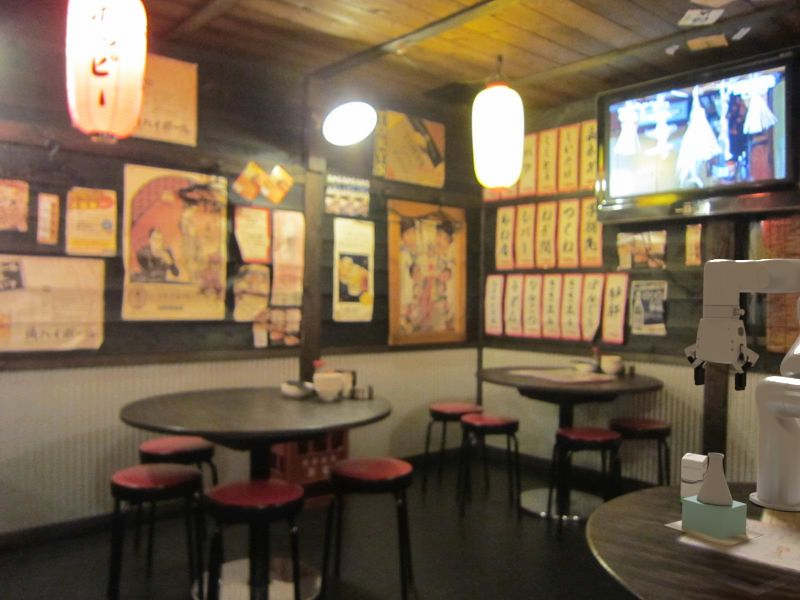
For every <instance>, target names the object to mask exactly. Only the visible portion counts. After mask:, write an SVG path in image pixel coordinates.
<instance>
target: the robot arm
mask: <svg viewBox="0 0 800 600" xmlns="http://www.w3.org/2000/svg"><path fill="white" fill-rule="evenodd" d="M702 287H703V288H702V290H703V295H702V296H703V297H702V304H703V305H702V318H700V320H699V322H698V323H699V324H698V328H697V335H696V342H695V343H693V344H692V345H689V346H687V347H685V348H684V350H683V351H684V353H685V355H686V357H687V361H688V362H689V363H690V365H691V367H692V368H693V381H694V386H704V385H705V384H706V369H705V367H704V366H705V365H706V364H707V362H709V363H719V364H728V365H729V364H730V365H732V366H733V368H734V369H735V370H736V372H735V373H734V391H736V392H739V391H740V392H741V391H745V390H746V387H747V374H748V373H749V372H750V371H751V369H753V368H754V367H755V365H756V363H757V362H758V359H759V358H760V354H758V353H757V352H755V351H753V350H752V349H750V348H749V347H747V336H746V328H745V325H744V320H743V319H740V316H744V315H745V310H744V309H743V308H741V306H740V293H760V294H761V293H762V294H790V293H800V258H771V259H769V258H767V259H759V260H757V259H756V260H754V259H746V260H745V259H744V260H733V259H713V260H711V259H710V260H708V261H706V262H705V263H704V266H703V286H702ZM796 310H797V318H798V324H799V326H800V296H799V297H798V299H797V302H796ZM694 352H695V353H694ZM747 357H748V359H747ZM779 372H780V375H781V376H775V375H774V376H767V377H763V378H762V379H761V380H759V381H758V383H757V384H756V387H755V389H754V398H755V399H754V400H755V405H756V411H757V419H758V434H757V436H758V437H757V438H758V439H757V440H758V441H757V463H756V464H757V465H756V467H757V468H756V473H757V475H756V491H755V492H752V493H749V497H748V498H749V500H750V502H751V503H753V504H755V505H758V506H760V507H764V508H768V509H770V510H771V509H772V510H777V511H783V512H785V511H786V512H800V425H799V423H798V421H797V420H796V419H800V333H799V334H798V337H797V338H796V340H795V341H794V343H793V344H792V345H791V347H790V349H789V350H788V352H786V354H785V356H784V357H783V359H782V361H781V364H780V366H779Z"/></svg>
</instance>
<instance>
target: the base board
mask: <svg viewBox="0 0 800 600" xmlns="http://www.w3.org/2000/svg"><path fill="white" fill-rule="evenodd" d="M664 526H666V527H668V528H671V529H674V530H677V531H680V532H684V533H686V534H688V535H691V536H695V537H697V538H700V539H704V540H706V541H709V542H712V543H714V544H718V545H720V546H723V547H726V548H727V547H729V546H730V547H731V546H734V545H736V544H740V543H742V542H746V541H749V540H752V539H754V538H755V539H756V538H758V537H761V536H764V535H765V534H764V533H763V532H762V533H761V532H758V531H754V530H753V529H752V530H751V529H749V528H746V533H743V534H740V535H737V536H733V537H730V538H727V539H724V540H720V539H717V538H714V537H711V536H708V535H705V534H702V533H699V532H696V531H693V530H690V529H687V528H684V527H682V519H681V520H679V521H674V522H670V523H666V524H664Z"/></svg>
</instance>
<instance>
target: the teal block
mask: <svg viewBox="0 0 800 600" xmlns="http://www.w3.org/2000/svg"><path fill="white" fill-rule="evenodd" d="M697 496H698V495H696V496H692V497H687V498H683V499H682V503H681V520H682V527H684V528H687V529H690V530H693V531H696V532H699V533H702V534H705V535H708V536H711V537H714V538H717V539H720V540H724V539H727V538H730V537H733V536H737V535H740V534H743V533H746V529H747V516H748V515H747V512H748V511H747V509H748V508H747V507H748V506H747V505H748V504H747V503H743V502H740V501H737V500H733V499H732V500H733V504H732V505H716V504H710V503H704V502H702V501H700V500H698V499H697Z"/></svg>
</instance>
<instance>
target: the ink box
mask: <svg viewBox="0 0 800 600" xmlns="http://www.w3.org/2000/svg"><path fill="white" fill-rule="evenodd" d="M708 458H709V457H708V455H703V454H698V453H692V452H687V453H685V454H684V455H683V457H681V461H680V462H681V463H680V469H681V470H680V503H681V504H682V499H683V498H687V497H692V496H696V495H698V493H699V491H700V489H701V486H702V484H703V481H704V479H705V476H706V474H707V471H708Z"/></svg>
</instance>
